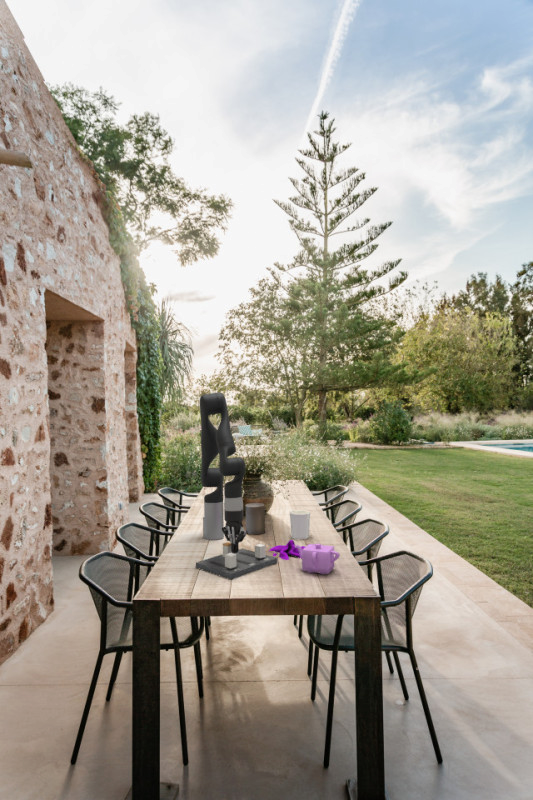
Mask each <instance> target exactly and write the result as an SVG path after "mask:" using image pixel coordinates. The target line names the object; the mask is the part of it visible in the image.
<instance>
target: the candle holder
mask: <svg viewBox="0 0 533 800" xmlns="http://www.w3.org/2000/svg"><path fill="white" fill-rule="evenodd" d="M289 519H290V521H289V523H290V535H291V539H293V538H294V540H297V539H304V540H308V539H309V538H310V527H311V525H310V523H311V521H310V520H311V511H309V510H305V509H295V510H291V511H289ZM307 538H308V539H307Z"/></svg>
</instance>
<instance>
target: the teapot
mask: <svg viewBox="0 0 533 800" xmlns="http://www.w3.org/2000/svg"><path fill="white" fill-rule="evenodd" d="M294 546H295V547H297V548H298V551H299V554H300V558H301V559H300V558H299V559H300V560H301V571H303V572H307V573H308V574H313V573H316V574H317V573H318V574H320V575H322V576H323V575H329V574H330V573H331V572H332V570H333V569H335V562H336V561H337V560H338V559H339V558H340V553H339V552H338V551H336V550H335V546H333V545H325V544H324V545H323V544H321V543H313V544H312V543H308V544H307V545H306V546H305V548H304V549H303V550H302V548H301V546H300V545H299V544H295V545H294Z"/></svg>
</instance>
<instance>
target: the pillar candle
mask: <svg viewBox="0 0 533 800" xmlns="http://www.w3.org/2000/svg"><path fill="white" fill-rule="evenodd" d="M244 506H245V507H244V508H245V530H247V533H248V535H252V534H256V535H262V534H265V533H266V517H265V516H266V512H265V511H266V510H265V509H266V508H265V503H261V502H256V501H255V502H253V503H246V504H245V505H244ZM264 532H265V533H264Z"/></svg>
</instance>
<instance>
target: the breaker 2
mask: <svg viewBox="0 0 533 800" xmlns="http://www.w3.org/2000/svg"><path fill="white" fill-rule="evenodd" d="M254 552H255V557H257V558H263V557H266V555H267V554H266V552H267V551H266V544H262V543H258V544H255V545H254Z"/></svg>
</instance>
